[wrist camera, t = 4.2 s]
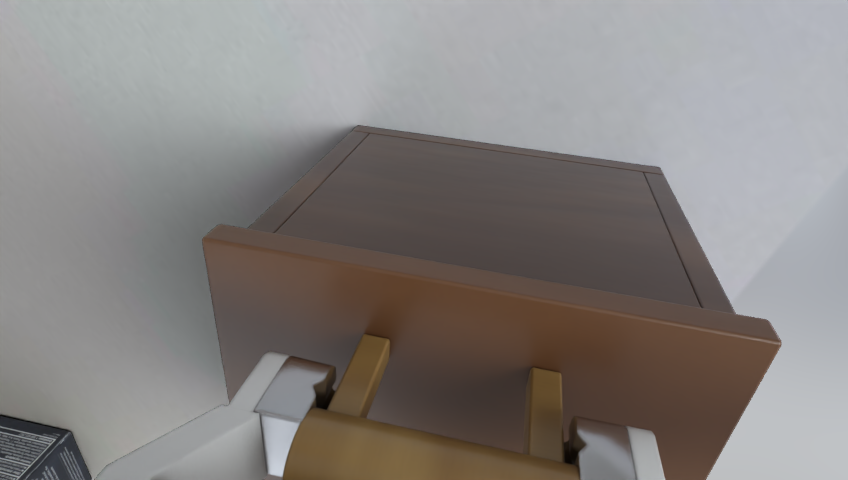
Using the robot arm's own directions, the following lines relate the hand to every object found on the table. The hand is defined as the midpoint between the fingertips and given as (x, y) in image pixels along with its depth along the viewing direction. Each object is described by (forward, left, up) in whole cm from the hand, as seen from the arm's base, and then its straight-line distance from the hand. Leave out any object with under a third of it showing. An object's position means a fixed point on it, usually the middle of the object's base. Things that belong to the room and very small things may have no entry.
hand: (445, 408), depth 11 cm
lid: (+4, +5, -2) cm, 6 cm away
